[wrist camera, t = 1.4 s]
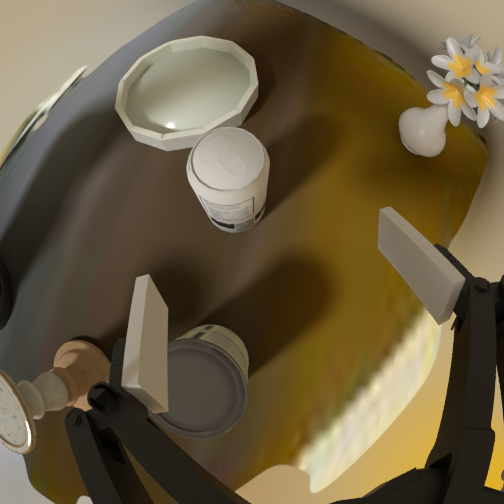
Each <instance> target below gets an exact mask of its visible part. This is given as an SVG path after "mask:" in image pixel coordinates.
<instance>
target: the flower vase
mask: <svg viewBox="0 0 504 504" xmlns="http://www.w3.org/2000/svg"><path fill="white" fill-rule="evenodd" d="M480 38H481V37H477V38H475V39H473V40H472V34H471V33H468V34H466V35H464V36H463V37H462V38H461V40H460V45H459V44H458V43H457V41H456V40H455V39H453V38H448V39H447V40H444V41H441V42H440V43H441V44H443V45H445V46H447V47H440V48H439V49H444V50H448V53H449V55H450V56H451V58H452V59H451V58H449V57H448V56H444V55H437V56H434V57H433V58H432V60H431V61H432V63H433V64H434V65H436V66H437V67H440V68H443V69H447V70H450V72H448V73H447V75H446V78H445V79H444V78H442V77H441V76H439V75H438V74H437V73H435V72H433V71H431V70H428V71H427V75H428V77H429V78H430V80H431V81H432V82H433V83H434V84H435V85H436V86H437V87H440V88H441V89H437V90H433V91H430V92H429V93H428V94H427V99H428V100H429V101H430V102H431V103H433V105H432V106H430V107H428V108H421V107H412V108H409V109H407V110H405V111H404V112H403V113H402V114H401V116H400V118H399V124H398V127H399V131H400V137H401V141H402V143H403V144H404V146H405V147H406V148H407V149H408V150H409V151H410V152H412V153H413V154H416V155H421V156H425V157H434V156H437V155H439V154H440V153H441V152H442V150H443V149H444V147H445V143H446V132H445V126H446V124H447V122H448V120H450V122H451V123H452V125H453V126H458V125H459V123H460V115H461V109H462V111H463V112H464V114H465V115H466V116H467V117H468V118H470V119H471V120H474V121H476V120H477V124H478V126H479V127H480V128H483V127H484V126H485V125H486V124H487V122H488V120H489V110H490V111H491V113H492V114H493V115H494V116H495V125H496V123H497V121H498V119H500V120H503V121H504V79H502V78H504V65H498V64H499V63H501V59H502V53H501V49H500V47H499V46H498V45H497V46H496V48H495V51H494V54H493V56H492V54H491V53H490V52H488V53H487V55H488V61H489V62H487V63H485V64H483V63H484V56H483V53H482V51H481V50H480V48H479V47H478V46H476V45H475V44H476V42H477V41H478V40H479V39H480ZM471 40H472V41H471ZM472 47H473V48H472ZM472 66H473V67H474V68H473V67H472ZM480 76H481V77H480ZM492 81H493V82H494V83H495V84H498V85H499V86H496V87H492ZM477 106H478V114H477V115H476V113H475V111H474V110H473V109H472V107H477ZM488 109H489V110H488Z"/></svg>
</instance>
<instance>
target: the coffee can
mask: <svg viewBox="0 0 504 504" xmlns="http://www.w3.org/2000/svg"><path fill="white" fill-rule="evenodd" d="M248 366H249V357H248V352H247V349H246V347H245V345H244V343H243V342H242V340H241V339H240V338H239V337H238V336H237V335H236V334H235V333H234V332H232V331H231V330H229V329H227V328H225V327H222V326H218V325H202V326H198V327H196V328H194V329H192V330H190V331H189V332H188V333H186V334H184V335H183V336H181V337H179V338H177V339H175V340H173V341H170V342H168V343H167V378H168V412H161V413H152V412H151V411H150V410H149V409H148V411H149V413H150V414H151V416H152V417H153V418H154V419H155V420H156V421H157V422H158V423H159V424H160V425H162V426H163V427H164V428H166V429H167V430H169V431H171V432H173V433H175V434H177V435H180V436H183V437H187V438H192V439H207V438H213V437H216V436H219V435H221V434H224V433H226V432H227V431H229V430H230V429H231V428H233V427H234V426H235V425H236V424H237V423H238V422H239V420H240V419H241V417H242V416H243V414H244V412H245V409H246V406H247V402H248V387H247V379H248Z"/></svg>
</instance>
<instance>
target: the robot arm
mask: <svg viewBox="0 0 504 504" xmlns="http://www.w3.org/2000/svg"><path fill="white" fill-rule="evenodd" d="M377 248H378V249H379V250H380V251H381V253H382V254H383V255H384V256H385V257H386V259H387V260H388V261H389V262H390V263H391V264H392V266H393V267H394V268H395V269H396V270H397V272H398V273H399V274H400V275H401V277H402V278H403V279H404V280H405V282H406V283H407V284H408V285H409V287H410V288H411V289H412V290H413V292H414V293H415V294H416V295H417V297H418V298H419V299H420V301H421V302H422V303H423V305H424V306H425V307H426V309H427V310H428V311H429V313H430V314H431V315H432V317H433V318H434V319H435V321H436V322H437V323H438V325H440V324H442V323H443V322H445V321H447V320H449V319H450V317H451V315H452V313H453V311H454V313H455V314H456V315H457V316H456V318H455V320H454V323H453V325H452V328H451V330H453V328H454V326H455V329H454V330H455V331H454V342H453V353H452V361H451V369H450V377H449V383H448V389H447V395H446V400H445V405H444V410H443V415H442V419H441V423H440V428H439V432H438V435H437V439H436V442H435V445H434V447H433V449H432V450H431V452H430V454H429V456H428V459H427V462H426V464H425V467H424V468H423V469H416V468H414V469H412V470H410V471H408V472H406V473H404V474H402V475H400V476H398V477H396V478H394V479H392V480H390V481H388V482H385V483H383V484H381V485H379V486H378V487H376V488H375V489H373V490H372V491H371V492H369V493H368V494H366V495H365V496H363V497H362V498H355V499H348V500H341V501H336V502H333V503H330V504H504V486H503V488H502V490H501V491H499V490H496V489H492V488H489V487H486V486H484V485H485V481H486V477H487V474H488V470H489V466H490V461H491V457H492V452H493V447H494V442H495V432H494V431H493V430H492V429H491V420H492V413H493V403H494V393H495V380H496V365H497V371H498V377H499V383H500V390H501V398H502V408H503V419H504V275H503V276H502V278H501V280H500V282H493V283H489V281H487V280H486V279H484V278H481V277H476V278H475V277H474V276H473V275H472V274H471V273H470V272H468V270H467V269H466V268H465V267H464V266H463V265H462V264H461V263H460V262H459V261H457V259H456V258H455V257H454V256H452V254H451V253H450V252H449V251H448V250H447V249H446V248H444V247H442V246H441V245H439V244H435V245H432V244H431V243H430V242H429V241H428V240H427V239H426V238H425V237H424V236H423V235H422V234H421V233H419V232H418V231H417V230H416V229H415V228H414V227H413V226H412V225H411V224H410V223H409V222H407V221H406V220H405V219H404V218H403V217H402V216H401V215H400V214H398V213H397V212H396V211H395V210H394V209H393V208H391V207H386V208H382V209H379V231H378V247H377ZM10 308H11V285H10V280H9V276H8V272H7V270H6V267H5V266H4V264H3V262H2V261H1V260H0V330H1V329H2V328H3V327H4V326H5V324H6V322H7V320H8V317H9V313H10ZM167 338H168V307H167V306H166V304H165V302H164V300H163V299H162V297H161V295H160V293H159V292H158V290H157V288H156V286H155V284H154V283H153V281H152V279H151V277H150V275H149V274H147V275H144V276H140V277H137V278H136V282H135V288H134V293H133V299H132V305H131V311H130V317H129V324H128V331H127V337H123V338H118V339H117V341H116V343H115V345H114V347H113V353H112V360H111V367H110V375H109V383H107V382H103V381H101V382H97V383H96V384H94V385H93V386H92V387H91V388H90V389H89V392H88V394H87V401H88V404H89V405H90V406H91V407H92V409H90V410H87V411H84V410H82V409H81V408H73V409H71V410H70V411H69V412H68V414H67V415H66V418H65V427H66V430H67V434H68V437H69V441H70V444H71V447H72V450H73V453H74V456H75V459H76V462H77V465H78V468H79V471H80V473H81V476H82V479H83V481H84V484H85V486H86V488H87V491H88V493H89V496H90V498H91V500H92V502H93V504H154V503H153V501H152V500H151V498H150V496H149V495H148V493H147V491H146V489H145V488H144V486H143V484H142V482H141V481H140V479H139V477H138V475H137V473H136V471H135V469H134V467H133V466H132V464H131V462H130V460H129V458H128V456H127V454H126V451H125V449H124V447H123V445H122V443H123V444H124V445H125V447H126V448H127V449H128V450H129V451H130V453H131V454H132V455H133V456H134V457H135V458H136V460H137V461H138V462H139V463H140V464H141V465H142V466H143V468H144V469H145V470H146V471H147V472H148V473H149V474H150V475H151V476H152V477H153V478H154V479H155V480H156V481H157V483H158V484H159V485H160V486H161V487H162V488H163V489H164V490H165V491H166V492H167V493H168V494H170V495H171V496H172V497H173V498H174V499H175V500H176V501H177V502H178V503H179V504H251V503H249V502H248V501H247V500H245V499H244V498H242V497H241V496H239V495H238V494H237V493H235V492H234V491H232V490H231V489H230V488H228V487H227V486H226V485H224V484H223V483H222V482H220V481H219V480H218V479H217V478H215V477H214V476H213V475H212V474H210V473H209V472H208V471H207V470H205V469H204V468H203V467H202V466H201V465H199V464H198V463H197V462H196V461H195V460H194V459H192V458H191V457H190V456H189V455H188V454H187V453H186V452H185V451H183V450H182V449H181V448H180V447H179V446H178V445H177V444H176V443H175V442H174V441H173V440H172V439H171V438H169V437H168V436H167V435H166V434H165V433H164V432H163V431H162V430H161V429H160V428H159V427H158V426H157V425H156V424H155V423H154V422H153V420H152V419H151V418H149V417H148V409H149V410H150V411H151V412H152V413H161V412H168V378H167ZM121 442H122V443H121ZM501 478H502V480H503V481H504V470H503V472H502V475H501Z"/></svg>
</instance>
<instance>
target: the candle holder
mask: <svg viewBox="0 0 504 504" xmlns="http://www.w3.org/2000/svg"><path fill="white" fill-rule="evenodd" d="M110 367H111V363H110V361H109V359H108V358H107V357H106V355H105V354H104V353H103V352H102V351H101V350H100V349H99V348H97V347H96V346H95V345H93V344H91V343H89V342H87V341H83V340H71V341H69V342H66V343H65V344H63V345H62V346H61V347H60V348H59V350H58V351H57V353H56V356H55V360H54V368H52V369H51V370H50V371H49V372H43V373H41V374H40V375H39V376H38V377H37V378H36V379H35V380H34V381H33V382H29V381H25V380H23V381H20V382H19V383H18V385H17V384H16V383H15V382H14V380H13V379H12V378H11V377H10V376H9V375H8V374H7V373H6V372H5V371H4V370H2V369H1V368H0V442H1V443H2V444H3V445H4V446H6V447H7V448H8V449H10V450H11V451H13V452H15V453H18V454H26V453H29V452H31V451H32V450H33V448H34V446H35V444H36V439H37V433H36V426H35V422H34V419H40V418H42V417H43V416H44V414H45V411H58V410H62V409H63V408H65V407H66V406H72V405H73V406H74V407H76V408H81V409H82V410H84V411H87V410H90V409H92V407H91V406H90V405H89V404H88V401H87V394H88V392H89V389H90V388H91V387H92V386H93V385H94V384H96V383H97V382H101V381H103V382H107V383H109V375H110ZM33 418H34V419H33Z"/></svg>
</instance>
